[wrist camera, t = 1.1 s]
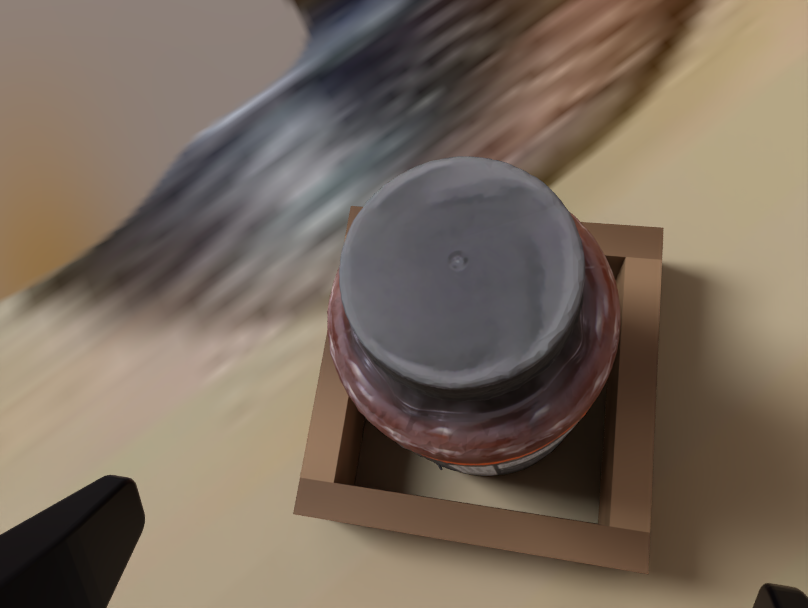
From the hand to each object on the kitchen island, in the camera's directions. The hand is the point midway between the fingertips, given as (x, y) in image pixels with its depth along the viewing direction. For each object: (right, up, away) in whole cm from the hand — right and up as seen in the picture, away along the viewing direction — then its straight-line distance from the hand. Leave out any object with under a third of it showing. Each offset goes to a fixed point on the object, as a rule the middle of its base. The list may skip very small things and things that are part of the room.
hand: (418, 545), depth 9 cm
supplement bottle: (+2, +1, +12) cm, 12 cm away
